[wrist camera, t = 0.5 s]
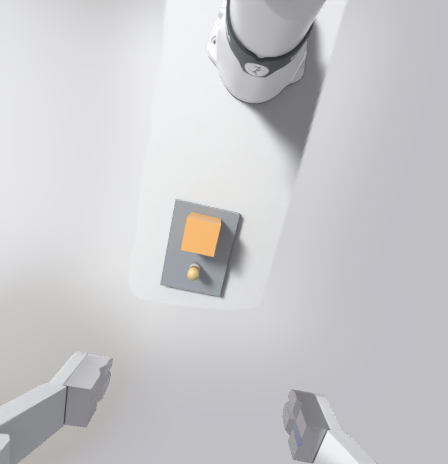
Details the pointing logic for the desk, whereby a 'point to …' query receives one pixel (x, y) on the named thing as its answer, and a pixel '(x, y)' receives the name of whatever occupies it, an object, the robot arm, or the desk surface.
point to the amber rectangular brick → (201, 234)
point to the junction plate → (192, 264)
